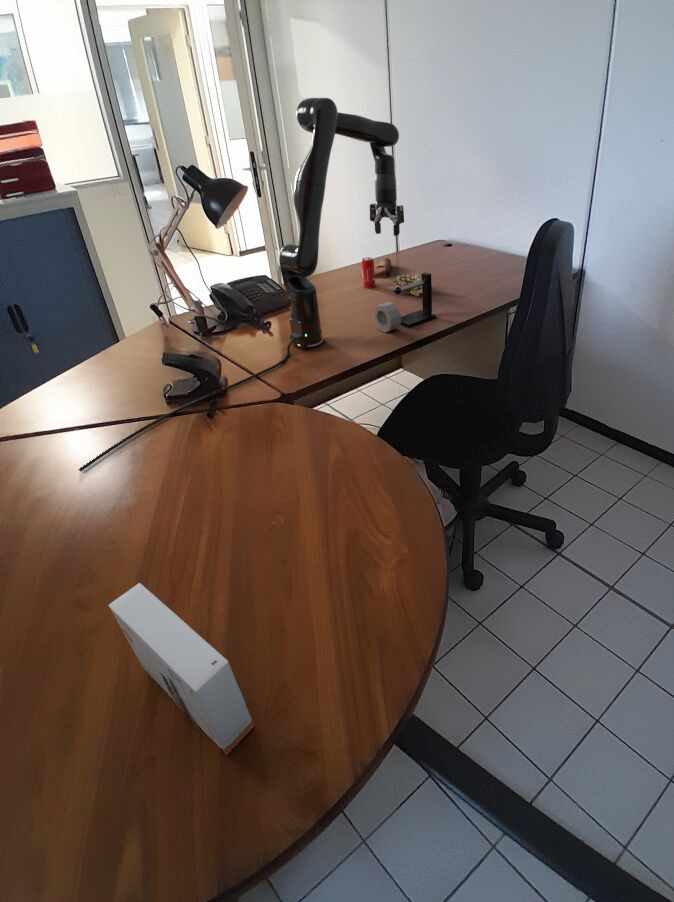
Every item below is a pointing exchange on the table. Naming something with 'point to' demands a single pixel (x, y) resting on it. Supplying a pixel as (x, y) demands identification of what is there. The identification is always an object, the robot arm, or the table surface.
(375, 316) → the tape roll
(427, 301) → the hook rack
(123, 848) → the table surface
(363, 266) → the beverage can
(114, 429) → the table surface
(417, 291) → the mineral formation
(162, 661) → the skincare box
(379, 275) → the sunglasses case
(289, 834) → the table surface
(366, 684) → the table surface
